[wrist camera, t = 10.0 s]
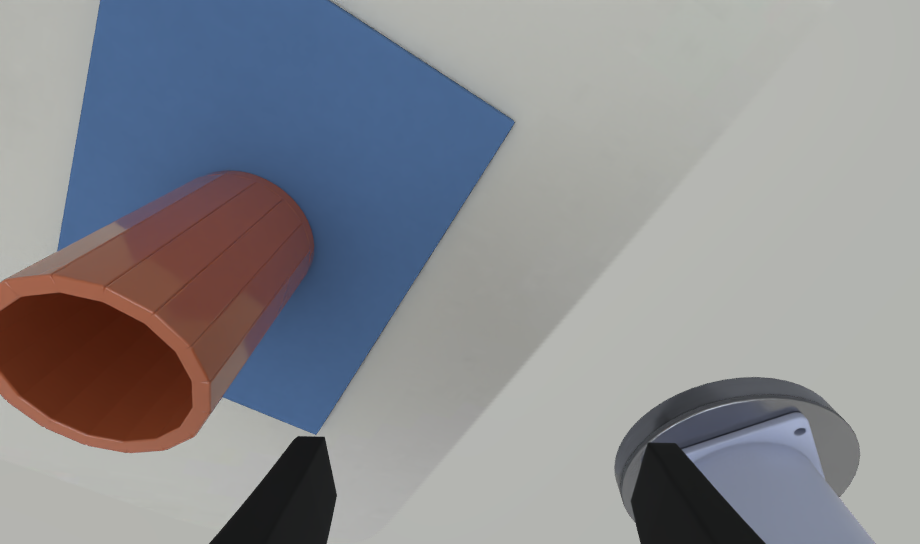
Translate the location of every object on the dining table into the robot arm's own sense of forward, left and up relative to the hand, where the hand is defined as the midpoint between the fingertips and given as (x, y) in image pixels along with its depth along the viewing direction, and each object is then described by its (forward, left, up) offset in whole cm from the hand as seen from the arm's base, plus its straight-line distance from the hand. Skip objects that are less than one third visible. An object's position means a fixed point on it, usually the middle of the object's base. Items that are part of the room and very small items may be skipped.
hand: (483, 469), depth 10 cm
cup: (+6, +7, -9) cm, 13 cm away
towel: (+6, +7, -9) cm, 13 cm away
